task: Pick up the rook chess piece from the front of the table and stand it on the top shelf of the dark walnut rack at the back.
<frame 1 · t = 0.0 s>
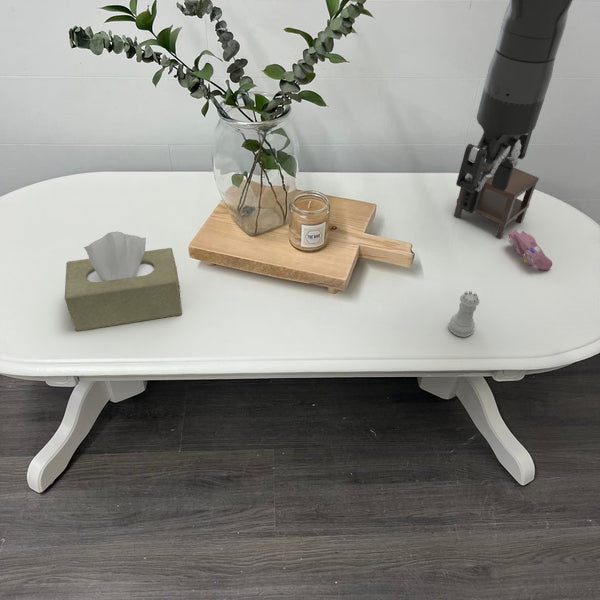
hand: (483, 198, 83), 27 cm above the table, tool pointing down, fingers open, 8 cm apart
tissue box: (129, 305, 104), on the table
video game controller: (525, 259, 117), on the table
rack: (488, 218, 127), on the table
rook chess piece: (460, 329, 102), on the table
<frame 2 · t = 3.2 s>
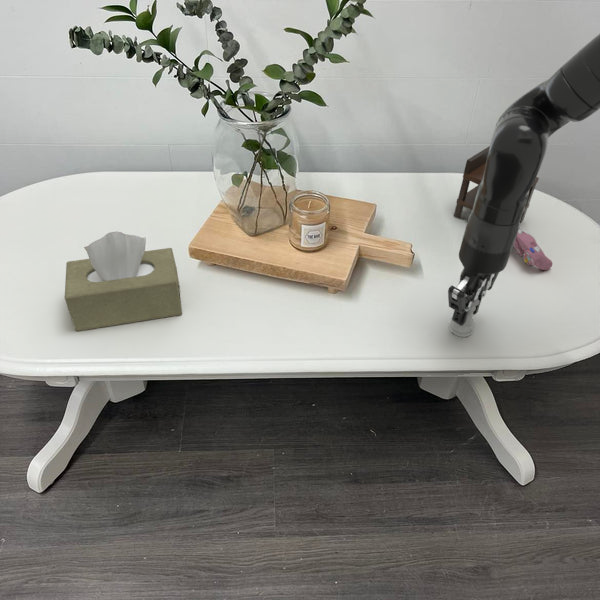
hand: (464, 316, 100), 3 cm above the table, tool pointing down, fingers closed on rook chess piece, 3 cm apart
rook chess piece: (460, 329, 102), on the table, touching gripper
everything else where it was.
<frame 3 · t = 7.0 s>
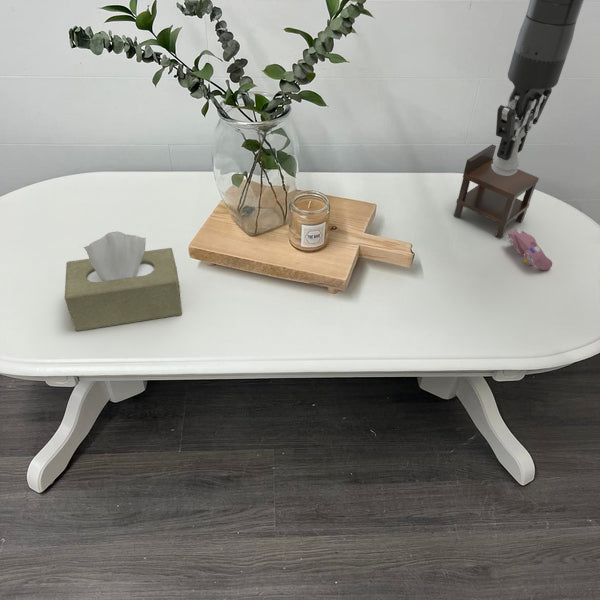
hand: (509, 153, 97), 25 cm above the table, tool pointing down, fingers closed on rook chess piece, 3 cm apart
rook chess piece: (503, 171, 99), point 22 cm above the table, touching gripper
everything else where it was.
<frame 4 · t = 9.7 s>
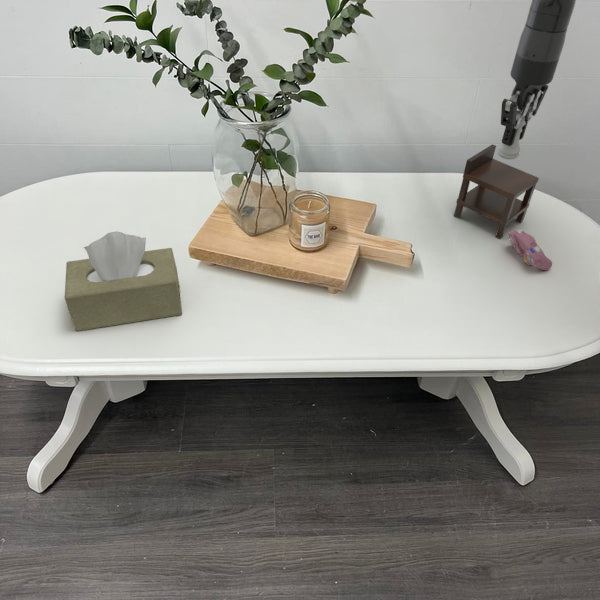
hand: (512, 140, 114), 19 cm above the table, tool pointing down, fingers closed on rook chess piece, 3 cm apart
rook chess piece: (507, 155, 117), point 16 cm above the table, touching gripper
everything else where it was.
when the fingers open (14 cm above the table, at t = 11.2 s): rook chess piece stays where it is, resting on rack.
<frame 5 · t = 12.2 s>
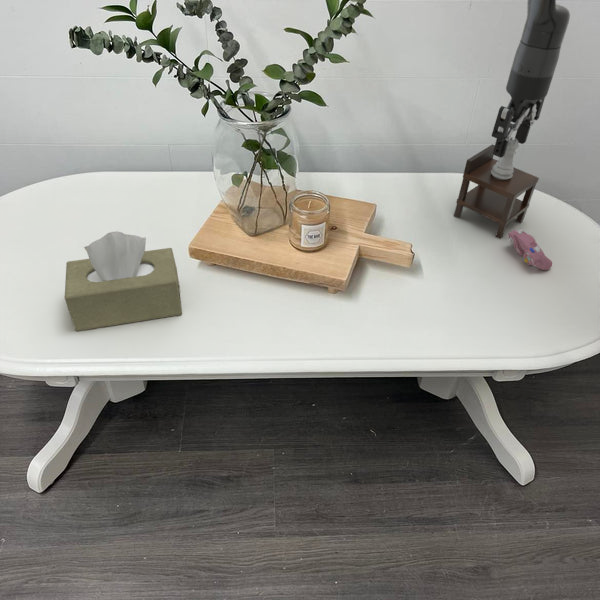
hand: (509, 148, 116), 17 cm above the table, tool pointing down, fingers open, 8 cm apart
rook chess piece: (501, 176, 120), point 11 cm above the table, touching rack
everything else where it was.
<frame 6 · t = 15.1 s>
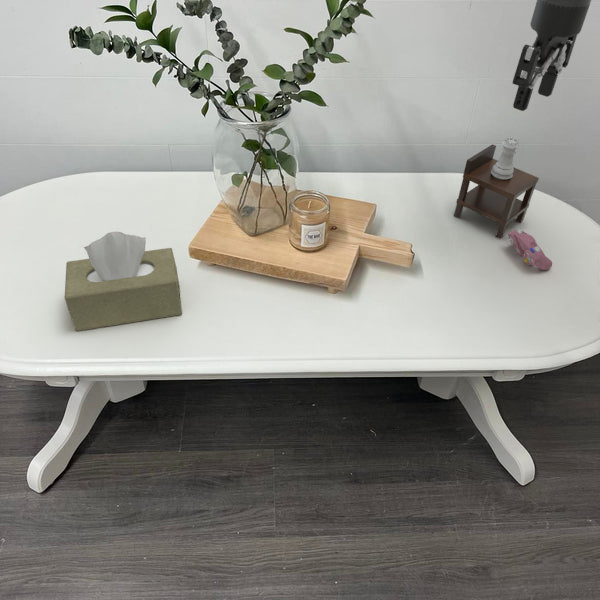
hand: (532, 101, 97), 32 cm above the table, tool pointing down, fingers open, 8 cm apart
nothing on the table moved.
at the end: rook chess piece 0.1 cm off-centre on the rack, point 10.8 cm above the rack's base; rook chess piece tilted 0°; the gripper is holding nothing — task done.
